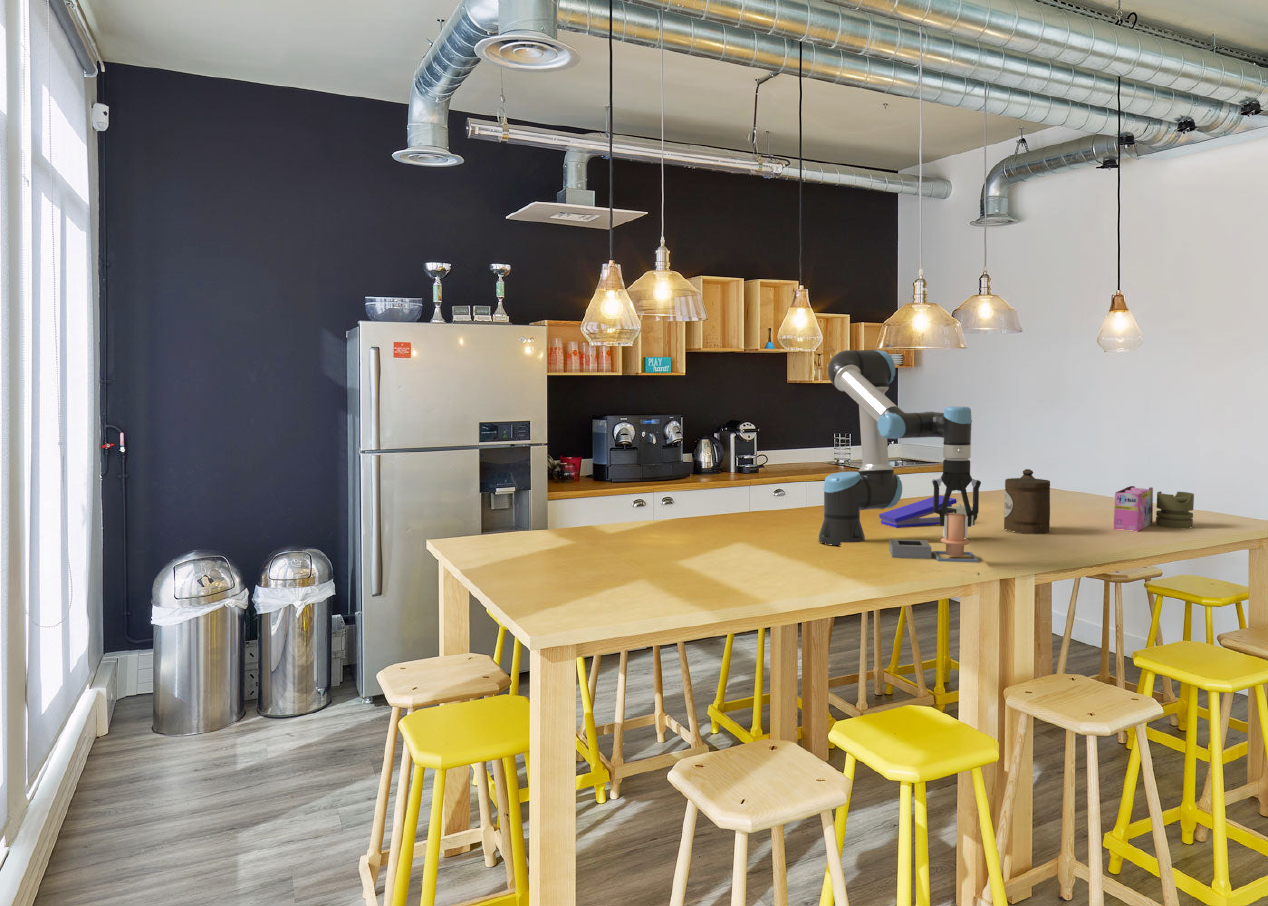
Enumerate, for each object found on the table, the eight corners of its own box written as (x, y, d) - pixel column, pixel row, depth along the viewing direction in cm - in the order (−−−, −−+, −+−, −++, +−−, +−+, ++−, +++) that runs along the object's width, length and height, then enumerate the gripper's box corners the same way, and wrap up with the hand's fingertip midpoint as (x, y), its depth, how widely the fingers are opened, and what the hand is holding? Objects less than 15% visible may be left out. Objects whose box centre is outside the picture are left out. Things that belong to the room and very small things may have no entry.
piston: (1200, 495, 300) (1166, 495, 302) (1198, 528, 301) (1164, 528, 303) (1184, 491, 311) (1151, 491, 313) (1182, 523, 312) (1150, 523, 314)
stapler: (959, 524, 318) (960, 498, 317) (896, 528, 310) (896, 502, 309) (940, 519, 329) (940, 494, 328) (878, 524, 320) (878, 498, 320)
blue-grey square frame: (937, 566, 246) (937, 558, 246) (932, 558, 257) (932, 550, 257) (977, 567, 244) (977, 559, 244) (971, 559, 254) (971, 552, 254)
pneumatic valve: (977, 538, 288) (978, 503, 287) (951, 541, 283) (951, 506, 282) (965, 535, 293) (965, 501, 292) (939, 538, 288) (939, 504, 287)
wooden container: (1008, 525, 312) (1010, 466, 310) (1052, 529, 303) (1054, 468, 301) (999, 531, 300) (1001, 470, 298) (1045, 535, 291) (1047, 472, 289)
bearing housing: (892, 562, 252) (892, 545, 251) (889, 555, 262) (889, 539, 262) (930, 563, 249) (931, 547, 249) (926, 556, 260) (926, 540, 260)
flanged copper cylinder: (942, 556, 247) (943, 516, 246) (938, 551, 255) (939, 512, 254) (971, 557, 245) (972, 516, 244) (966, 552, 253) (967, 512, 252)
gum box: (1129, 521, 319) (1131, 485, 318) (1153, 523, 314) (1155, 487, 312) (1112, 529, 301) (1114, 492, 300) (1138, 532, 296) (1139, 493, 295)
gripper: (926, 460, 246) (924, 538, 248) (991, 460, 242) (989, 540, 244) (923, 457, 253) (921, 534, 255) (986, 458, 249) (985, 535, 251)
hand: (955, 537), depth 250 cm, fingers closed on flanged copper cylinder, 5 cm apart
